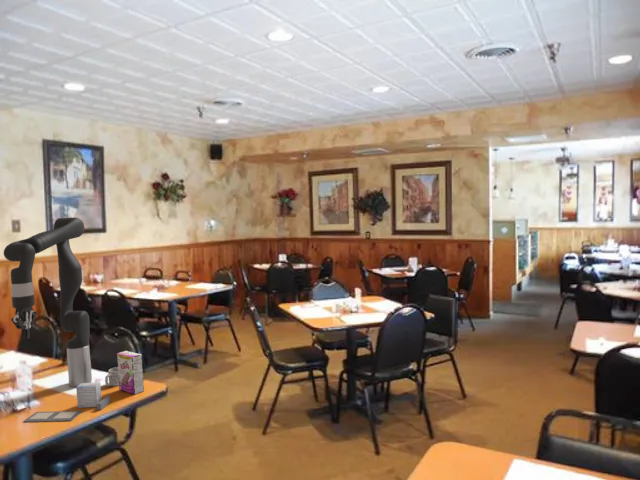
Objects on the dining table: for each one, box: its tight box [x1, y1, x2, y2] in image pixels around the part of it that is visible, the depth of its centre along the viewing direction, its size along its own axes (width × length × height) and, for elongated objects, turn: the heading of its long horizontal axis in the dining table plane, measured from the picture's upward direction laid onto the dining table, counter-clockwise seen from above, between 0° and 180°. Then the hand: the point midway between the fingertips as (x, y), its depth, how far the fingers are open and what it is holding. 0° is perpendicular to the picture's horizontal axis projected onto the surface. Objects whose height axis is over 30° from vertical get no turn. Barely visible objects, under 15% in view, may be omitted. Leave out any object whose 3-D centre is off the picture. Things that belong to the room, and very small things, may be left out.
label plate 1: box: [23, 410, 60, 423], centre depth 188 cm, size 8×9×1 cm
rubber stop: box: [96, 395, 111, 411], centre depth 197 cm, size 8×2×2 cm, turn 178°
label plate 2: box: [47, 410, 83, 422], centre depth 188 cm, size 8×9×1 cm
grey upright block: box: [75, 382, 103, 409], centre depth 198 cm, size 8×4×9 cm, turn 91°
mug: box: [104, 366, 119, 387], centre depth 221 cm, size 10×7×7 cm
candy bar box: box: [116, 350, 145, 395], centre depth 213 cm, size 11×5×16 cm, turn 56°
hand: (26, 338), depth 193 cm, fingers closed
